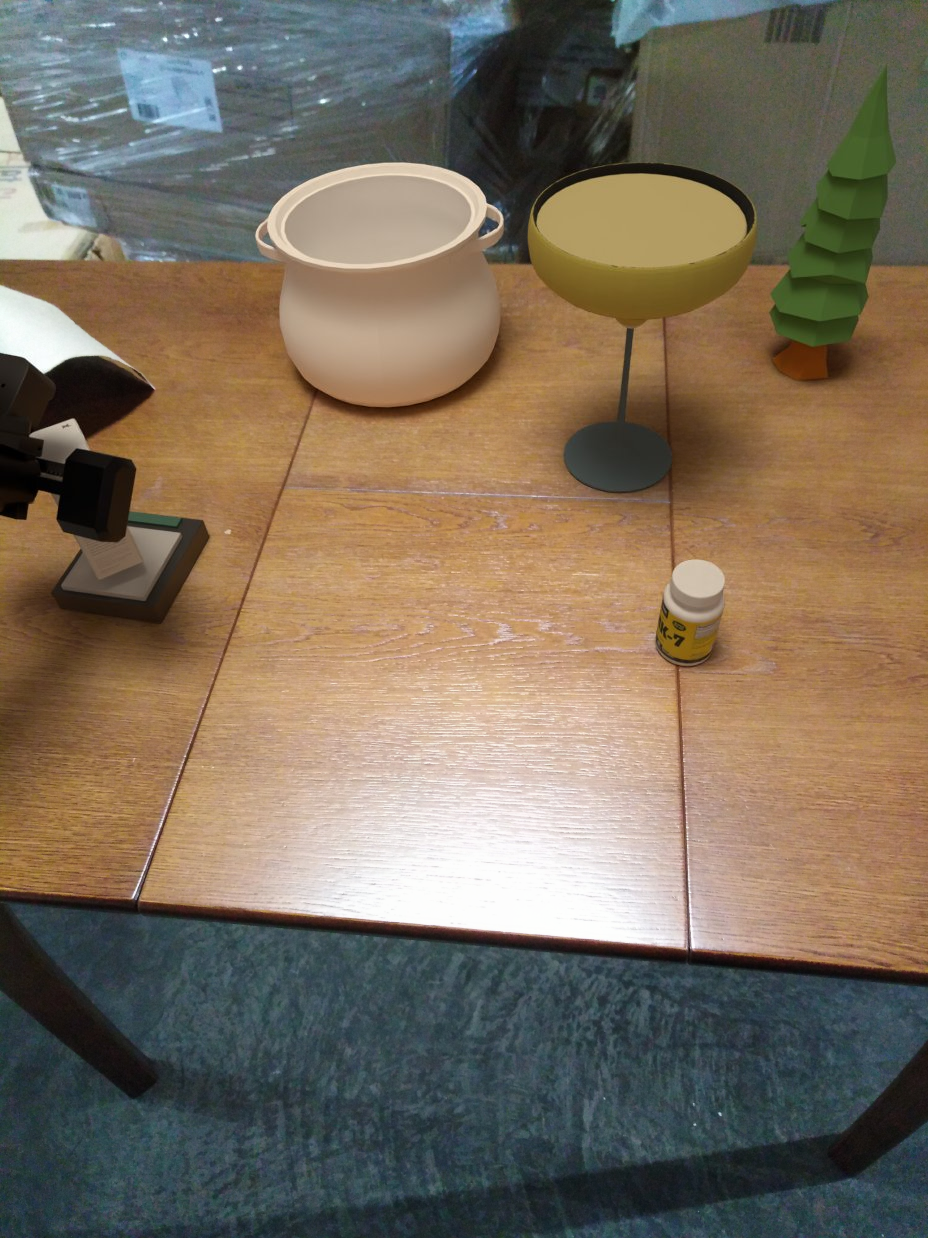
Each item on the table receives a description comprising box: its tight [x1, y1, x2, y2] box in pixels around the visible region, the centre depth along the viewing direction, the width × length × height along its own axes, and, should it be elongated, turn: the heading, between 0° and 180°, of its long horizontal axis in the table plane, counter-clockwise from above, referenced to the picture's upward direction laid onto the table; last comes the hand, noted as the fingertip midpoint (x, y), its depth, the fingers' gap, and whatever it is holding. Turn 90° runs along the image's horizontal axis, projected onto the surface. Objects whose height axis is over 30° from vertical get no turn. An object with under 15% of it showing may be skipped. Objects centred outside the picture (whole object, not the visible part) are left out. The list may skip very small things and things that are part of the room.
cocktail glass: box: [527, 161, 758, 493], centre depth 80 cm, size 18×18×25 cm
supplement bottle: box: [654, 558, 726, 667], centre depth 71 cm, size 5×5×8 cm
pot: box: [254, 162, 505, 408], centre depth 97 cm, size 26×24×17 cm
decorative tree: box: [769, 63, 897, 381], centre depth 87 cm, size 10×9×30 cm
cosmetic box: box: [30, 418, 143, 579], centre depth 74 cm, size 6×4×12 cm
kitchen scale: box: [50, 510, 210, 624], centre depth 82 cm, size 10×11×3 cm
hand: (93, 485), depth 75 cm, fingers closed on cosmetic box, 7 cm apart
